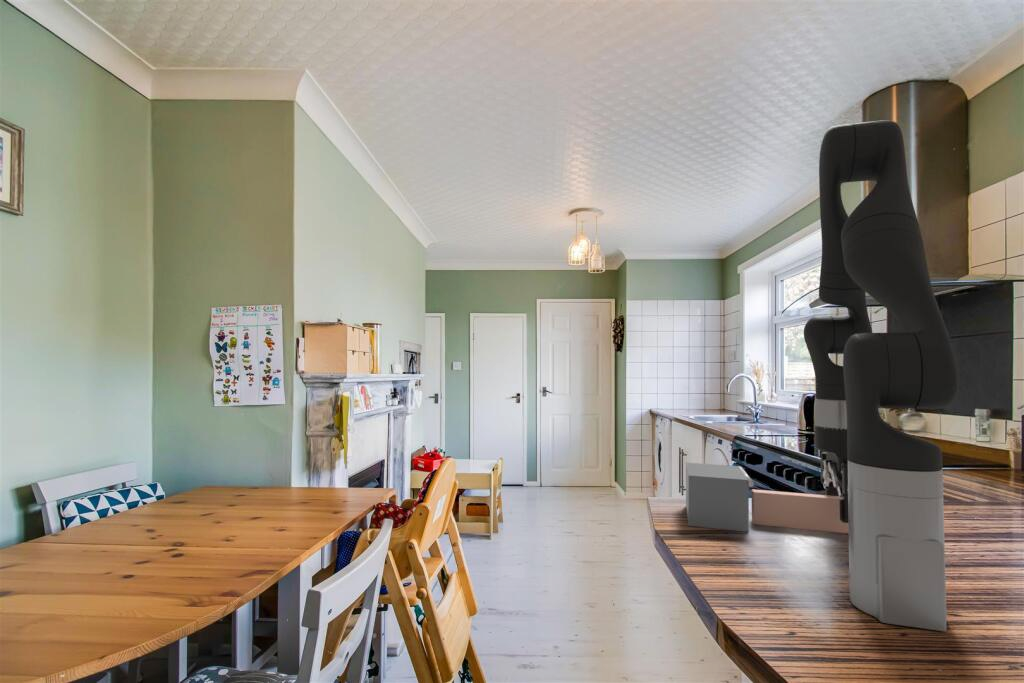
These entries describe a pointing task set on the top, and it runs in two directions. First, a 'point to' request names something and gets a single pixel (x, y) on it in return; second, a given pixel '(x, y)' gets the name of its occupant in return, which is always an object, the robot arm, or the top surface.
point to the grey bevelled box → (717, 496)
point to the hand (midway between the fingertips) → (840, 516)
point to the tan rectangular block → (797, 511)
